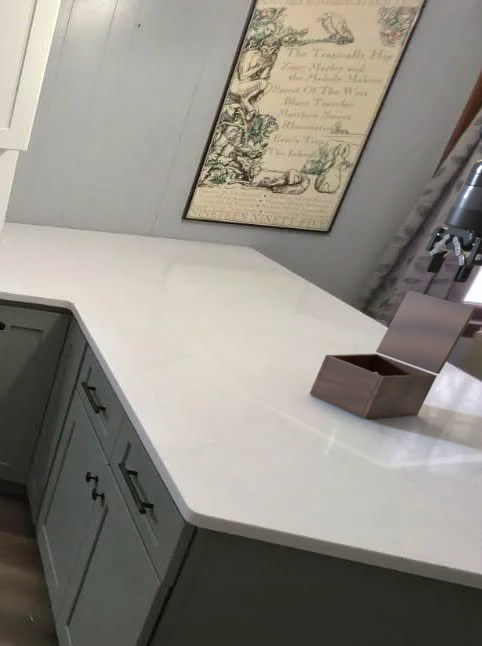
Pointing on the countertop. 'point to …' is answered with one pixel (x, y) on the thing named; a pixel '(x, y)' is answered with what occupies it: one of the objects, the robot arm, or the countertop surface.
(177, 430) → the countertop surface
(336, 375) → the chest
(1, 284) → the countertop surface
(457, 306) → the lid
